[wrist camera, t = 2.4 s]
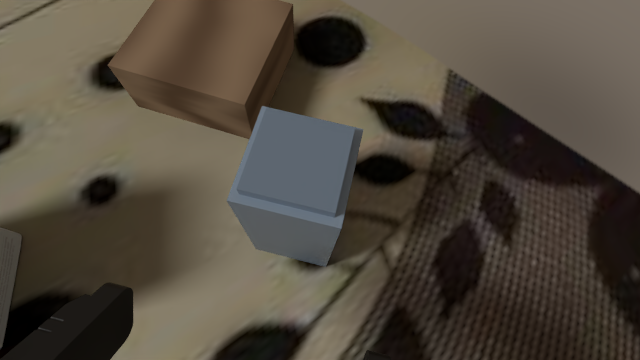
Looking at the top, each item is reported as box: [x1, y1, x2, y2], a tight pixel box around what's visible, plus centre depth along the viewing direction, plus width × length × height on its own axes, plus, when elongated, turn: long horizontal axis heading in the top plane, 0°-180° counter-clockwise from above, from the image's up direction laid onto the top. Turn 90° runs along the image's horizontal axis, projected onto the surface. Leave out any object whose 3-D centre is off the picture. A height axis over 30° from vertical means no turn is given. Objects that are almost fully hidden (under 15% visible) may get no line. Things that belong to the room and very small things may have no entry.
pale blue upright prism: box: [227, 106, 363, 267], centre depth 20 cm, size 5×5×11 cm
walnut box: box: [108, 0, 294, 139], centre depth 27 cm, size 10×10×5 cm
